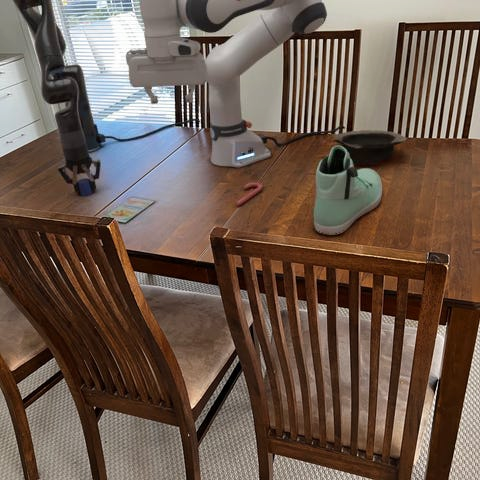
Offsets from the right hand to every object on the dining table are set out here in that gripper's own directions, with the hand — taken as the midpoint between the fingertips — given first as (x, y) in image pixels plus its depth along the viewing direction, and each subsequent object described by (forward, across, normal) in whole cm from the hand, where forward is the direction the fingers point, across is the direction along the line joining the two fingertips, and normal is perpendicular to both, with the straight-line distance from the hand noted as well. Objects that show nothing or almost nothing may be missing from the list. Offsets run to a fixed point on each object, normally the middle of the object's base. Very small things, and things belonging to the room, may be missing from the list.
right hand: (172, 102), depth 127 cm
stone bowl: (+33, +57, +41) cm, 77 cm away
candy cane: (+33, +17, +10) cm, 39 cm away
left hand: (+32, -38, +14) cm, 52 cm away
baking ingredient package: (+33, -19, +2) cm, 38 cm away
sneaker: (+33, +47, +2) cm, 58 cm away
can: (+33, -38, +14) cm, 52 cm away
